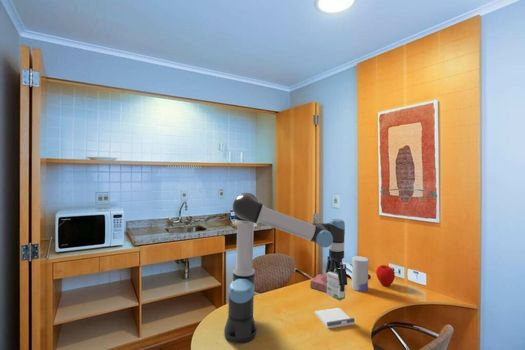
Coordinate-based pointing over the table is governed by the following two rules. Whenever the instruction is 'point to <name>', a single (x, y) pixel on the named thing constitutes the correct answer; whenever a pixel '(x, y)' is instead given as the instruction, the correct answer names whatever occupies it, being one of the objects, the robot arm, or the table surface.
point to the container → (360, 273)
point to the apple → (385, 275)
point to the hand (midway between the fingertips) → (335, 292)
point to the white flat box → (334, 318)
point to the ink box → (333, 285)
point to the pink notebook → (319, 283)
